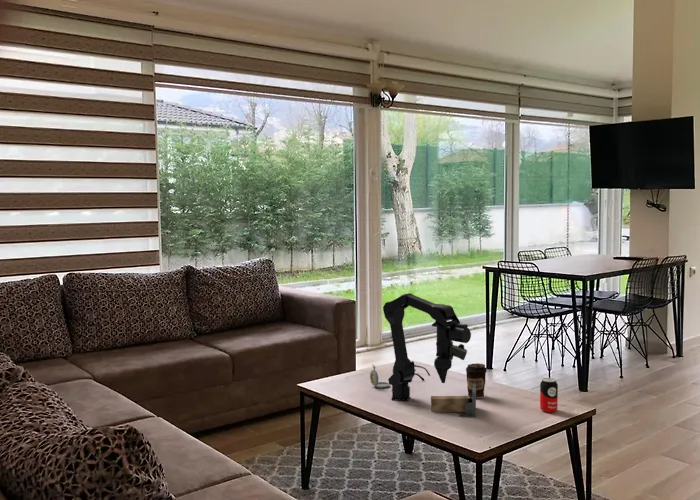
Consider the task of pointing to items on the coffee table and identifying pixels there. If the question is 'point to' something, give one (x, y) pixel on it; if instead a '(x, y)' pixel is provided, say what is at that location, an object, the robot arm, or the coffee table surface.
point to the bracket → (470, 405)
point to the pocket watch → (375, 380)
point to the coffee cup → (476, 379)
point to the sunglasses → (423, 368)
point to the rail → (448, 403)
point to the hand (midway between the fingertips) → (444, 379)
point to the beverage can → (548, 395)
